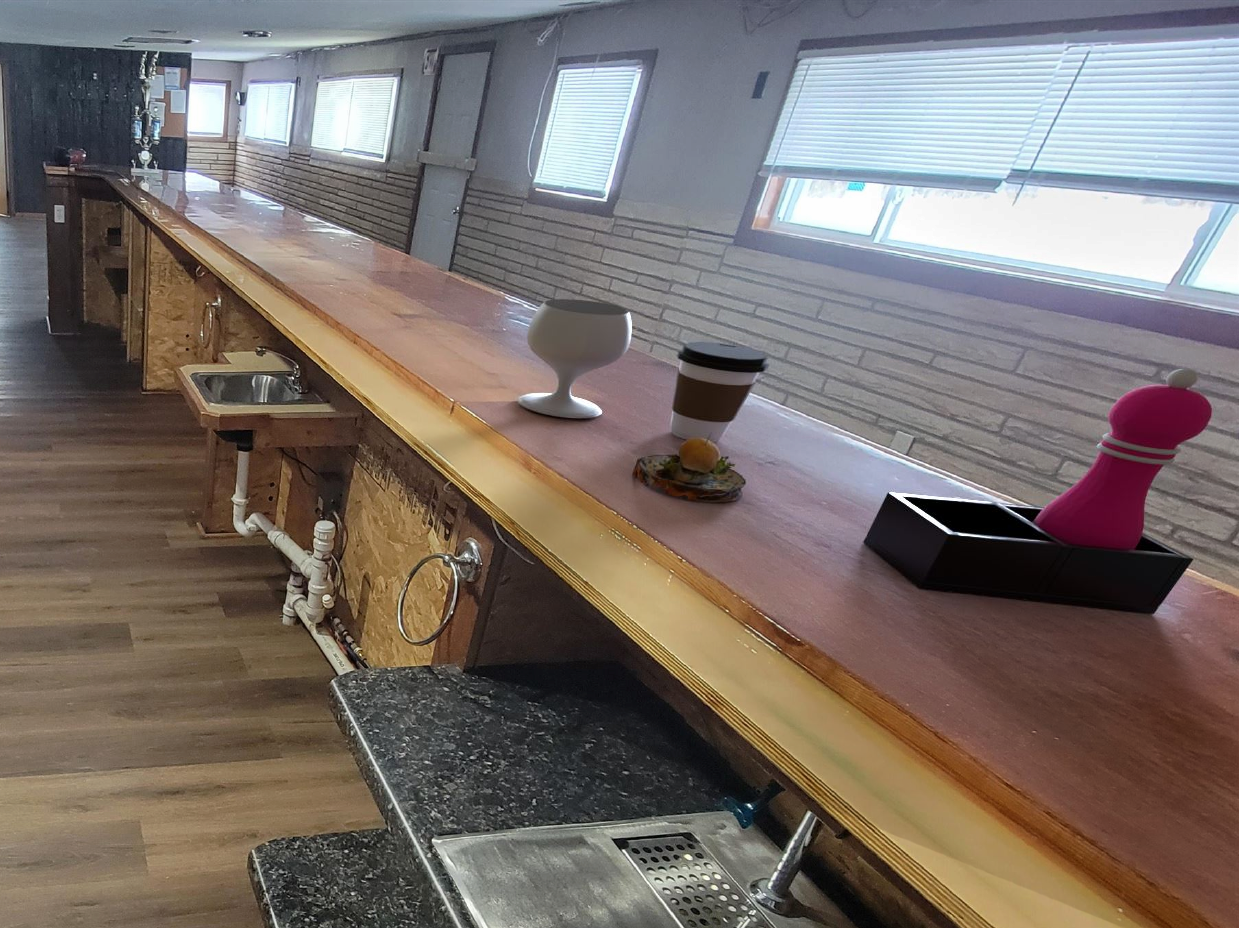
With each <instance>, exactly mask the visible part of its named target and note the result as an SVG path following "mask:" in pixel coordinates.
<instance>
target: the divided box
mask: <svg viewBox="0 0 1239 928" xmlns="http://www.w3.org/2000/svg"><path fill="white" fill-rule="evenodd" d="M1045 507H1046V506H1045ZM1045 507H1044V506H1036V505H1025V504H1013V503H1005V502H1004V503H1002V502H994V501H993V502H991V501H983V500H971V499H963V498H953V497H952V498H951V497H943V496H930V495H921V494H920V495H919V494H911V493H910V494H909V493H900V492H899V493H898V492H890V491H889V492H887V494H886V495H885V497H884V499H883V501H882V503H881V505H880V507H879V509H878V511H877V513H876V515H875V518H874V519H873V521H872V524H871V525H870V528H869V529H868V531H867V533H866V536H865V537H864V540H863V544H864V545H865V546H866V547H868V548H869V549H870V550H871V551H873V552H874V553H875V554H876V555H878V556H879V557H880V558H881V559H883V560H884V561H885V562H886V563H887V564H888V565H890V566H891V567H892V568H893V569H895V571H897V572H898V573H899V574H901V575H902V576H903V577H904V578H906V580H908V581H909V582H910V583H911V584H913V585H914V586H915V587H916V588H918V589H919V590H928V591H937V592H947V593H954V594H955V593H957V594H966V595H973V596H984V597H991V598H992V597H993V598H1002V599H1011V600H1019V601H1020V600H1021V601H1029V602H1040V603H1046V604H1047V603H1048V604H1056V605H1067V606H1075V607H1084V608H1093V609H1103V610H1111V611H1112V610H1113V611H1123V612H1130V613H1139V614H1140V613H1141V614H1149V615H1155V614H1156V612H1157V611H1158V609H1159V607H1161V605H1162V604H1163V602H1164V601H1165V600H1166V598H1167V597H1168V596H1169V594H1170V593H1171V592H1172V590H1173V588H1174V587H1175V586H1176V585H1177V583H1178V582H1179V580H1180V579H1181V577H1182V576H1183V575H1184V573H1185V572H1186V571H1187V570H1188V568H1189V566H1190V565H1191V564H1192V562H1194V558H1193V557H1191V556H1189V555H1187V554H1185V553H1183V552H1181V551H1179V550H1177V549H1175V548H1173V547H1172V546H1169V545H1168V544H1165V543H1163V542H1161V541H1160V540H1158V539H1156V538H1154V537H1152V536H1150V535H1148V534H1146V533H1144V532H1142V536H1141V539H1140V540H1139V542H1138V544H1137V546H1136V548H1135V549H1134V550H1128V549H1118V548H1108V547H1098V546H1088V545H1078V544H1068V543H1066V542H1064V541H1063V540H1061V539H1059V538H1058V537H1056V536H1054V535H1052V534H1051V533H1049V532H1047V531H1046V530H1044V529H1042V528H1040V527H1039V526H1037V525H1035V524H1034V523H1033V521H1034V520H1035V519H1036V517H1037V516H1038V515H1039V513H1040V512H1041V511H1042V510H1043V509H1044V508H1045Z"/></svg>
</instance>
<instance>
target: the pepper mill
mask: <svg viewBox="0 0 1239 928" xmlns="http://www.w3.org/2000/svg"><path fill="white" fill-rule="evenodd" d="M1198 378H1199V375H1198V373H1197V372H1196V371H1195V370H1194V369H1191V368H1179V369H1176V370H1173V371H1171V372H1170V373H1169V374H1168V375H1167V377H1166V379H1165V383H1166V384H1152V385H1143V386H1141V387H1137V388H1134V389H1132V390H1130V391H1128V392H1126V393H1124V394H1123V395H1121V397H1120V398H1118V399H1117V401H1116V402H1115V403H1114V404H1113V405H1112V407H1111V408H1110V411H1109V412H1108V417H1107V419H1108V420H1107V421H1108V423H1109V426H1110V427H1111V432H1107V433H1104V434H1103V435H1102V439H1101V441H1100V442H1099V443H1098V444H1097V445H1096V448H1097V450H1099V453H1098V454H1097V457H1096V459H1095V460H1094V462H1093V464H1092V465H1091V466H1090V468H1089V469H1088V471H1087V472H1086V473H1085V474H1084V475H1083V476H1082V477H1081V478H1080V479H1079V480H1078V481H1077V482H1076V483H1075V484H1074V485H1072V486H1071V487H1070V488H1069V489H1067V490H1066V491H1064V492H1063V493H1061V494H1060V495H1058V496H1057V497H1056V498H1054V499H1053V500H1052V501H1050V502H1049V503H1048V504H1047V505H1046V506H1045V508H1044V509H1043V510H1042V511H1041V512H1040V513H1039V515H1038V516H1037V517H1036V519H1035V520H1034V521H1033V523H1034V524H1035V525H1037V526H1039V527H1040V528H1042V529H1044V530H1046V531H1047V532H1049V533H1051V534H1052V535H1054V536H1056V537H1058V538H1059V539H1061V540H1063V541H1064V542H1066V543H1068V544H1078V545H1088V546H1098V547H1108V548H1118V549H1128V550H1134V549H1135V548H1136V546H1137V544H1138V542H1139V540H1140V539H1141V536H1142V533H1144V532H1143V531H1144V528H1145V508H1146V507H1145V506H1146V499H1147V496H1148V492H1149V489H1150V488H1151V485H1152V483H1153V481H1154V480H1155V478H1156V476H1157V475H1158V473H1159V472H1161V470H1162V469H1163V467H1164V466H1166V465H1170V464H1173V463H1174V462H1175V458H1176V456H1177V455H1178V454H1179V453H1181V450H1182V449H1181V448H1180V446H1179V445H1180V444H1182V443H1184V442H1186V441H1189V440H1191V439H1193V438H1195V437H1197V436H1198V435H1200V434H1201V433H1203V432H1204V430H1205V429H1206V427H1207V426H1208V424H1209V423H1210V420H1211V418H1212V414H1213V413H1212V412H1213V408H1212V404H1211V403H1210V402H1209V400H1208V398H1206V397H1205V396H1204V395H1202V394H1201V393H1200V392H1197V391H1195V390H1193V389H1190V388H1191V387H1192V386H1194V385H1195V384H1196V383H1197V382H1198Z"/></svg>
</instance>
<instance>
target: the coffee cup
mask: <svg viewBox="0 0 1239 928" xmlns="http://www.w3.org/2000/svg"><path fill="white" fill-rule="evenodd" d="M676 358H677V359H678V360H680V363H679V368H678V369H677V372H676V373H677V374H676V379H675V384H674V392H673V398H672V404H671V411H672V412H671V417H670V418H671V419H670V429H671V433H672V434H673V436H675V437H677V438H681V439H683V440H685V441H687V440H689V439H691V438H703V439H707V440H708V438H709V436H710V438H709V441H711V442H713V443H717V442H718V441H719V440H721V439H722V438H723V437H724V436H725V435H726V432H727V430H728V429H729V427H730V426H731V423H732V422H733V421H734V420H736V417H737V416H738V414H739V412H740V411H741V409H742V407H743V406H744V404H745V402H746V400H747V399H748V396H749V395H750V393H751V392H752V390H753V388H754V387H755V385H756V380H757V379H758V377H759V375H760V373H763V372H766V371H768V369H769V366H770V364H769V363H768V362H767V361H768V359H769V358H768V356H767V355H766V354H765V353H764V352H761V351H760V350H757V349H754V348H749V347H745V346H741V345H735V344H729V343H722V342H713V341H711V342H710V341H694V342H693V341H692V342H688V343H685V344H684V345H683V346H682V348H681V349H680V350H678V351H677V352H676ZM711 432H712V433H711ZM710 434H711V435H710Z"/></svg>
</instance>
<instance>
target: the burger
mask: <svg viewBox="0 0 1239 928" xmlns="http://www.w3.org/2000/svg"><path fill="white" fill-rule="evenodd" d="M711 433H712V432H711ZM710 435H711V434H710ZM709 438H710V436H709ZM709 438H708V440H707V439H703V438H691V439H689V440H685V441H684V442H682V443H681V445H680V446H679V449H678V453H676V454H651V455H648V456H647V455H646V456H641V457H638V458H637V459H636V461H635V464H634V465H635V466H634V468H633V471H632V477H633V478H635V477H637V478H638V481H639V483H640V484H641V485H643V484H645V486H646V487H648V486H654V487H655V488H657V487H659V488H661V489H663V490H664V493H665V494H666V495H672V496H673V497H681V496H686V497H687V500H692V501H699V502H709V503H710V502H711V503H713V502H714V503H721V502H722V503H723V502H724V503H725V502H731V501H732V502H733V501H736V500H739V499H740V498H742V497H743V490H742V489H743V488H744V487H745V486H746V484H747V479H745V477H744V476H743V475H742V474H741V473H739V472H737V471H736V470H735V469H732V467H735V466H736V463H732V462H730V461H729V462H727V460H728V459H730V457H729V455H726V456H723V455H722V456H721V453H720V450H719V448H718V446H717V445H716V444H715V442H711V441H709Z"/></svg>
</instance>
